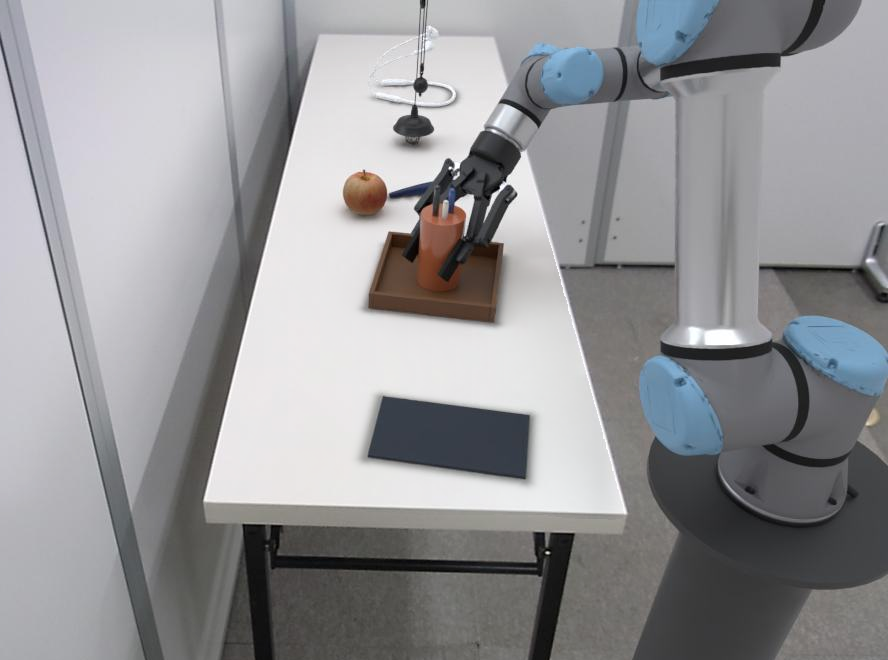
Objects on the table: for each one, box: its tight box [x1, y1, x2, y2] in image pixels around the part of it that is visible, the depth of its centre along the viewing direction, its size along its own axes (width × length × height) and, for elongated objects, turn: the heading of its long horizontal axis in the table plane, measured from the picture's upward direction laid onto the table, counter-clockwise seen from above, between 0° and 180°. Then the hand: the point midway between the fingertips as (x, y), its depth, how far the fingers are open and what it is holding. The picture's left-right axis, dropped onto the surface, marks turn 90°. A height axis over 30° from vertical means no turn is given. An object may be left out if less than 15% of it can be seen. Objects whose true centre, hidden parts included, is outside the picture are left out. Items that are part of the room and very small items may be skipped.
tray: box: [367, 231, 505, 323], centre depth 146 cm, size 20×20×3 cm
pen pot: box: [417, 185, 467, 292], centre depth 141 cm, size 7×7×17 cm
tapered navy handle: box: [388, 178, 461, 199], centre depth 169 cm, size 16×4×2 cm, turn 99°
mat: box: [367, 395, 530, 480], centre depth 118 cm, size 20×12×1 cm, turn 79°
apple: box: [342, 169, 388, 216], centre depth 162 cm, size 8×8×8 cm
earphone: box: [367, 25, 457, 107], centre depth 205 cm, size 14×17×18 cm
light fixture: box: [392, 0, 435, 146], centre depth 176 cm, size 10×8×31 cm
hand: (424, 268), depth 142 cm, fingers closed on pen pot, 7 cm apart
